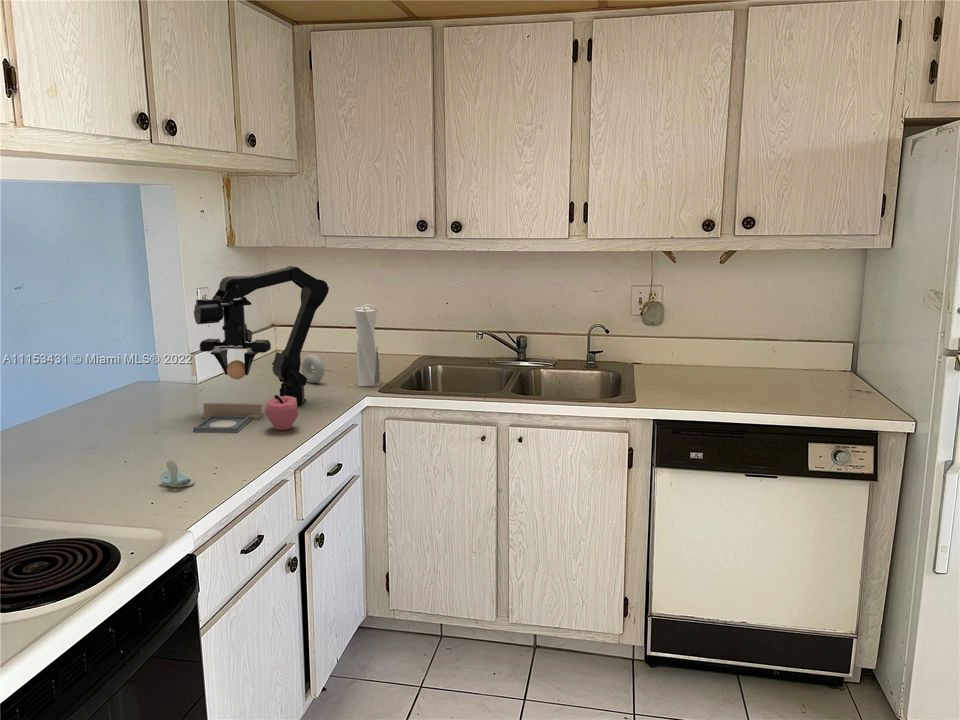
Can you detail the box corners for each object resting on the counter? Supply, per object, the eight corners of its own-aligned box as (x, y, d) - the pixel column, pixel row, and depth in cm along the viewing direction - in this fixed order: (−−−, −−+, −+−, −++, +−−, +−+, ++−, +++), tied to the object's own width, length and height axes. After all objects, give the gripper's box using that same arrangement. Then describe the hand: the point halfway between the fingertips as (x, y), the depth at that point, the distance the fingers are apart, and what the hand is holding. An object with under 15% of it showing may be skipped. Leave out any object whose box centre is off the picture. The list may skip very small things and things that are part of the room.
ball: (249, 377, 212) (249, 358, 211) (243, 381, 206) (242, 362, 205) (231, 376, 212) (230, 358, 211) (224, 381, 206) (223, 362, 205)
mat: (251, 419, 204) (251, 415, 203) (237, 432, 192) (237, 428, 192) (209, 419, 204) (209, 415, 203) (192, 432, 192) (192, 427, 192)
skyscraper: (380, 387, 241) (378, 304, 235) (355, 388, 240) (353, 304, 234) (380, 381, 249) (378, 301, 243) (356, 382, 248) (354, 301, 242)
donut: (327, 384, 245) (326, 355, 243) (319, 386, 242) (318, 357, 240) (307, 379, 251) (306, 351, 249) (299, 381, 248) (298, 353, 246)
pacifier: (184, 477, 161) (157, 484, 157) (182, 450, 160) (156, 456, 155) (200, 485, 156) (174, 493, 152) (199, 458, 155) (172, 464, 151)
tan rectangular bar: (262, 416, 207) (262, 402, 206) (259, 419, 204) (258, 405, 203) (207, 415, 207) (206, 402, 206) (203, 418, 204) (202, 404, 203)
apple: (298, 433, 192) (296, 397, 190) (264, 435, 190) (262, 398, 188) (300, 423, 201) (299, 388, 199) (268, 424, 200) (266, 389, 198)
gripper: (275, 318, 213) (277, 369, 216) (212, 316, 214) (215, 368, 217) (263, 323, 202) (265, 378, 206) (197, 322, 203) (200, 376, 206)
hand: (237, 374), depth 209 cm, fingers closed on ball, 5 cm apart
